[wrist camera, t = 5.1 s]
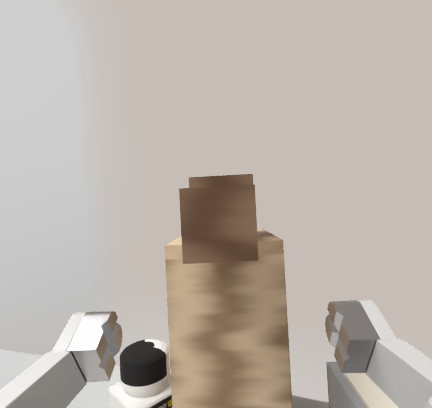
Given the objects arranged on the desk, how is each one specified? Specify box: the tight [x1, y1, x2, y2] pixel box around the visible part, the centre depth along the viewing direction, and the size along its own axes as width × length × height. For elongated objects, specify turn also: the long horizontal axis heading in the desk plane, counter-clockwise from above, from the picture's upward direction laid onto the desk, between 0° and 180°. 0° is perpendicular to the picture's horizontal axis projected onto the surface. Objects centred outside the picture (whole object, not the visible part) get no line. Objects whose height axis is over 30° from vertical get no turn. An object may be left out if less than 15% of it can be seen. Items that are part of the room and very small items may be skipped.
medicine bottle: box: [108, 339, 172, 408], centre depth 36 cm, size 7×7×12 cm
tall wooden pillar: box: [165, 229, 292, 408], centre depth 31 cm, size 10×14×26 cm
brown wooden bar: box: [179, 174, 259, 264], centre depth 24 cm, size 6×18×6 cm, turn 177°
